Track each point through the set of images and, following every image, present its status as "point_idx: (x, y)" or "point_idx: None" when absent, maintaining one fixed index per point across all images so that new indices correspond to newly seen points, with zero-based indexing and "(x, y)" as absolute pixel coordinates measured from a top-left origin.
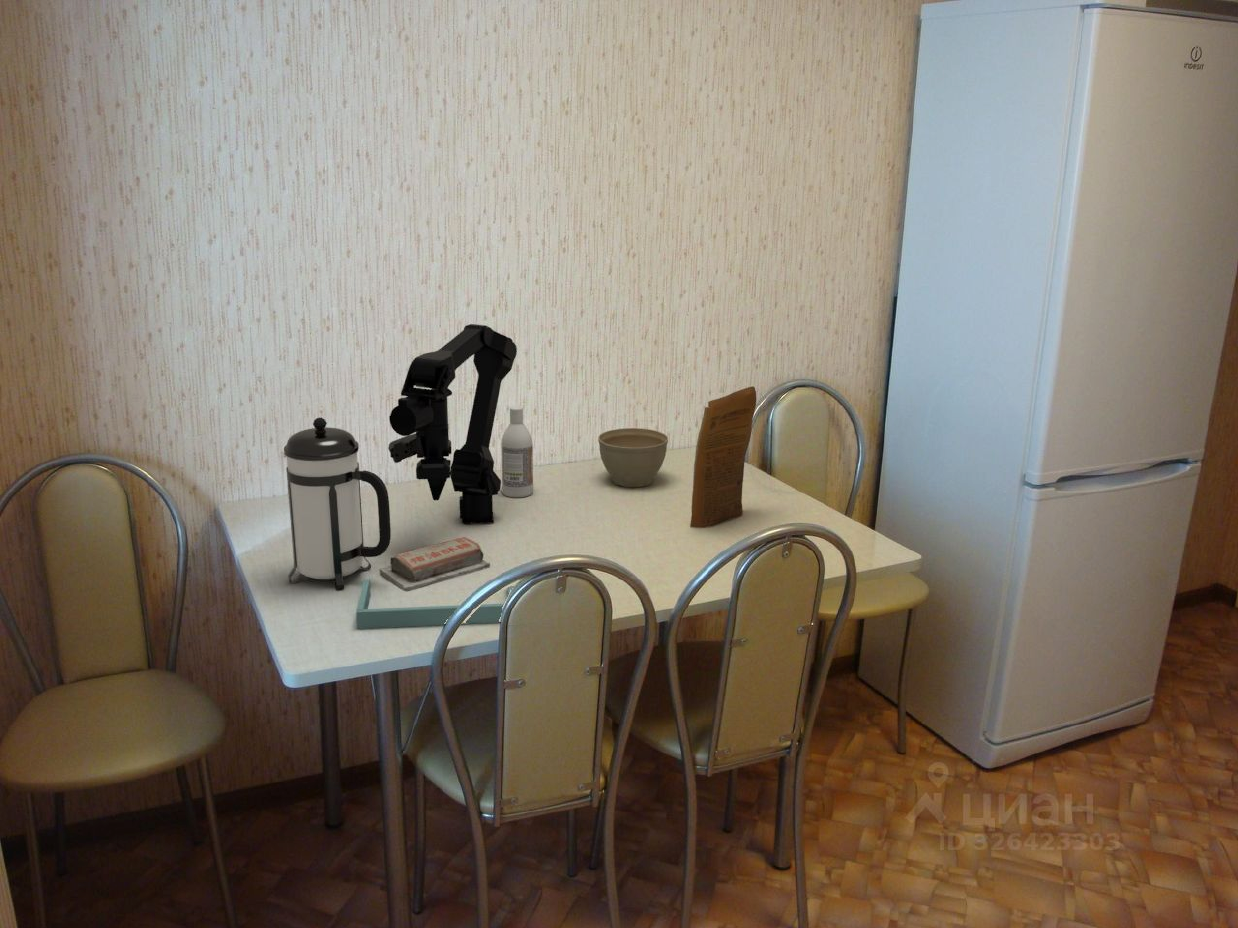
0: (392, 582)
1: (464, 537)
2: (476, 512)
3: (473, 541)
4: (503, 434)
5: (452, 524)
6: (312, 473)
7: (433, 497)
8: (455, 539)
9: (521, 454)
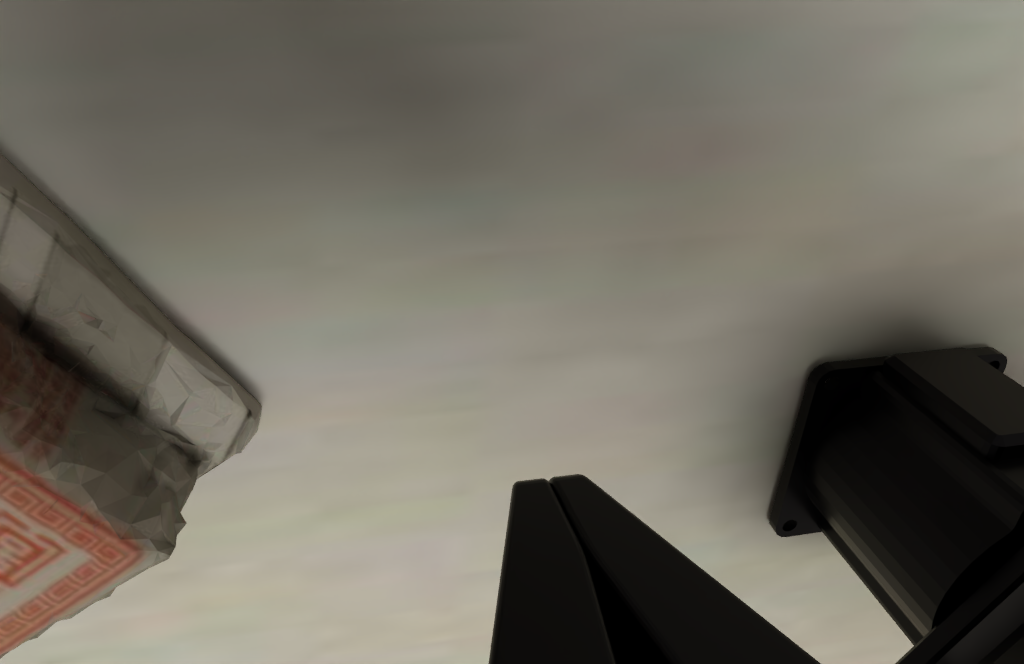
0: None
1: (124, 565)
2: (846, 493)
3: (13, 644)
4: None
5: (841, 295)
6: None
7: (511, 520)
8: (36, 512)
9: None
